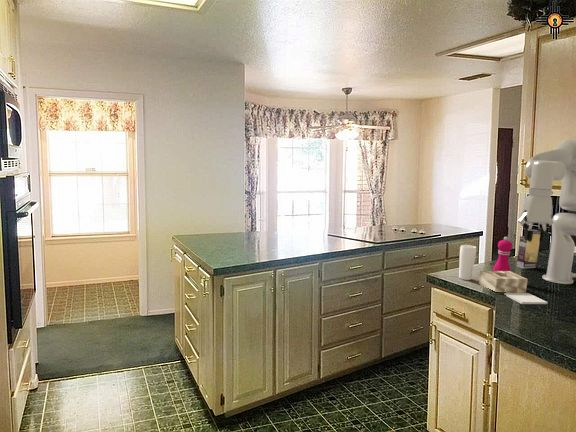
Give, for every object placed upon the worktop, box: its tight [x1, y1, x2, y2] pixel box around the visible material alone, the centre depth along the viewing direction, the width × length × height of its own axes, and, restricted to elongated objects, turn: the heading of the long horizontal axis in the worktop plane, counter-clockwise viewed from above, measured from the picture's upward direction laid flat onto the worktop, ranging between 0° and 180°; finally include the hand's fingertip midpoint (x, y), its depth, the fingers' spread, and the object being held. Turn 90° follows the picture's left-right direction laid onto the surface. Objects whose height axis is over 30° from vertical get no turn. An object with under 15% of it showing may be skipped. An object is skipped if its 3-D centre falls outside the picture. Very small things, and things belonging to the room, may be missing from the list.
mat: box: [503, 292, 549, 305], centre depth 187 cm, size 11×11×1 cm
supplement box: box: [516, 235, 537, 269], centre depth 241 cm, size 9×5×16 cm, turn 111°
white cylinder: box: [458, 244, 477, 281], centre depth 211 cm, size 7×7×15 cm
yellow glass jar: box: [524, 229, 541, 263], centre depth 183 cm, size 4×4×12 cm
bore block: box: [478, 270, 529, 293], centre depth 200 cm, size 14×12×6 cm
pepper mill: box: [492, 236, 513, 272], centre depth 213 cm, size 7×7×20 cm
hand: (533, 239), depth 183 cm, fingers closed on yellow glass jar, 4 cm apart
